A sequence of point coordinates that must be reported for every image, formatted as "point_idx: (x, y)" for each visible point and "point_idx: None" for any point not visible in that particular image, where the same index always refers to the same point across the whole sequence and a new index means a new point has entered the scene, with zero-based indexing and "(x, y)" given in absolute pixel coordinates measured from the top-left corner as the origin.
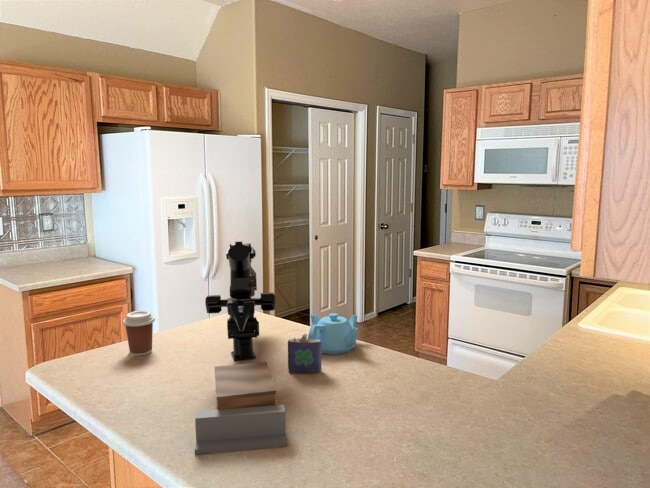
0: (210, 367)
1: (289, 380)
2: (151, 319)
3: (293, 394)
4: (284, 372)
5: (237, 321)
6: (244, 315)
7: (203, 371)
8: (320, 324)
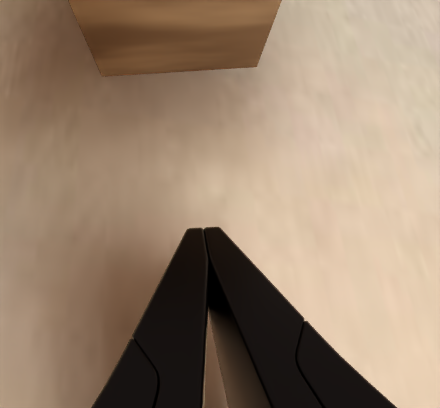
0: None
1: (3, 189)
2: None
3: (6, 76)
4: (14, 271)
5: (266, 283)
6: (157, 373)
7: (346, 310)
8: None
